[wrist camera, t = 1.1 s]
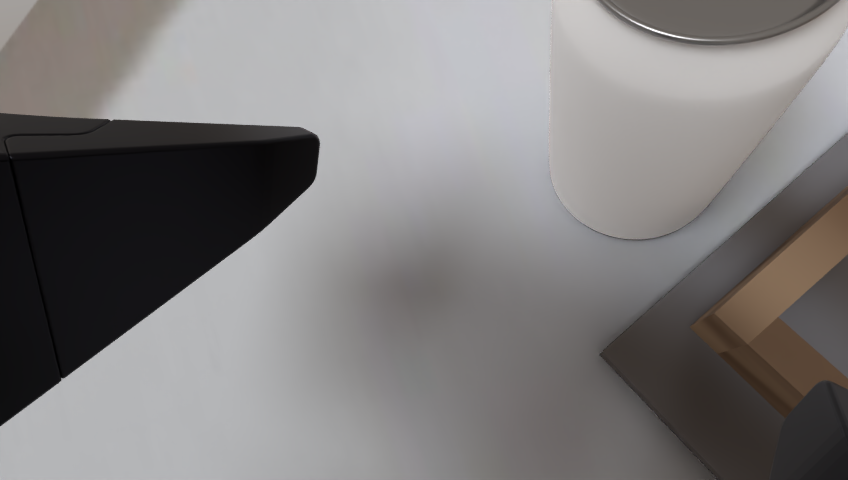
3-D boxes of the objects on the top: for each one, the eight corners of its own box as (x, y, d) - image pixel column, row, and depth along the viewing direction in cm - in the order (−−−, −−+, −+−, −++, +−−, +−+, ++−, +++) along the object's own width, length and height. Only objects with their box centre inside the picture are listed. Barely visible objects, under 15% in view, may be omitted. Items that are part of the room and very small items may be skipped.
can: (731, 237, 21) (952, 35, 9) (554, 248, 22) (565, 82, 11) (704, 86, 23) (861, -232, 11) (542, 104, 24) (541, -165, 13)
